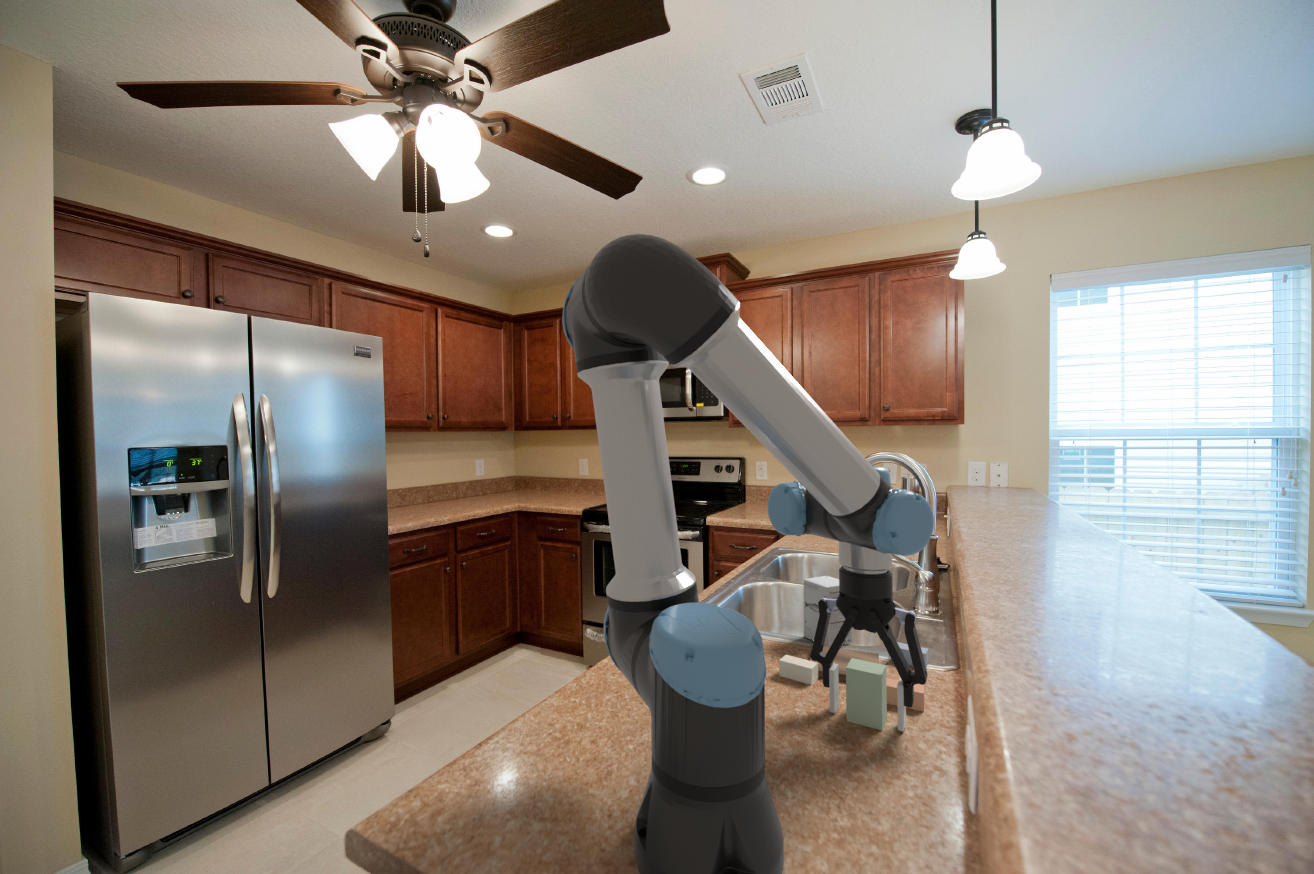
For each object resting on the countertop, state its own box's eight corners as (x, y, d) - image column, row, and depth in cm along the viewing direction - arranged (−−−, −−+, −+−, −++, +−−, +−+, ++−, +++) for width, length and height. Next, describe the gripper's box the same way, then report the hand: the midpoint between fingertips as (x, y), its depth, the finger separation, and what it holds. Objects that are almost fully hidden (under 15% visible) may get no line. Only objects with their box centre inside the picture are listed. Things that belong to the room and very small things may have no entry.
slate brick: (928, 664, 97) (928, 648, 97) (925, 670, 94) (925, 653, 94) (894, 656, 100) (894, 641, 100) (890, 661, 98) (890, 646, 98)
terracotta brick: (924, 704, 82) (924, 685, 82) (924, 712, 79) (923, 693, 79) (884, 695, 85) (883, 677, 85) (882, 703, 82) (881, 684, 82)
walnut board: (880, 686, 87) (880, 679, 87) (807, 675, 92) (807, 668, 92) (878, 659, 98) (878, 653, 98) (814, 650, 103) (814, 644, 103)
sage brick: (882, 730, 74) (881, 675, 74) (846, 720, 77) (845, 667, 77) (886, 718, 77) (886, 665, 78) (852, 709, 80) (851, 657, 80)
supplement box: (802, 637, 110) (801, 578, 111) (828, 631, 113) (828, 574, 114) (827, 649, 104) (826, 586, 104) (854, 643, 107) (853, 582, 107)
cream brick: (818, 679, 91) (818, 662, 91) (811, 686, 88) (811, 668, 88) (786, 670, 94) (786, 654, 94) (779, 676, 92) (779, 659, 92)
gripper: (948, 571, 75) (950, 726, 75) (801, 555, 87) (803, 689, 86) (945, 583, 69) (947, 752, 68) (787, 564, 80) (788, 708, 80)
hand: (867, 717), depth 77 cm, fingers open, 9 cm apart
